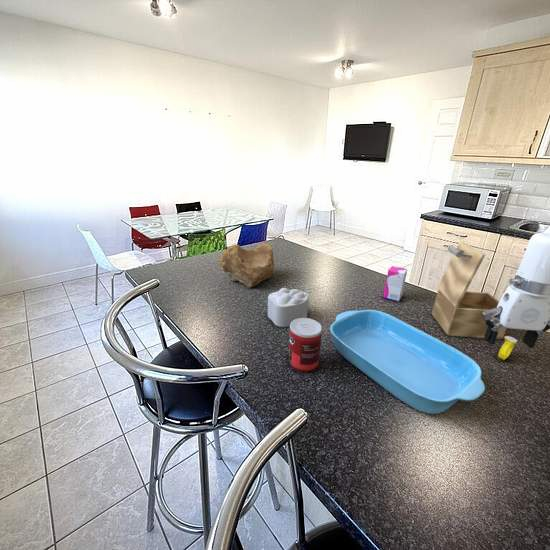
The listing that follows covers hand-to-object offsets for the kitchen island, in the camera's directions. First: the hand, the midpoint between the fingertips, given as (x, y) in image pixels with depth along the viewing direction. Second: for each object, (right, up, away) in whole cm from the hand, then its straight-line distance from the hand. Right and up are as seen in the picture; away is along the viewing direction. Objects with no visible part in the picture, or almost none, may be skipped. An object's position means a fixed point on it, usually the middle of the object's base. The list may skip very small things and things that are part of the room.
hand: (507, 343), depth 77 cm
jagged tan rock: (-71, +15, +43) cm, 85 cm away
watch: (0, -4, +2) cm, 5 cm away
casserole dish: (-31, -6, -3) cm, 32 cm away
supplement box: (-17, +9, +33) cm, 38 cm away
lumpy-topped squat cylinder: (-57, +4, +19) cm, 60 cm away
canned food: (-54, -5, -2) cm, 55 cm away
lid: (-7, +19, +9) cm, 22 cm away
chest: (-1, +2, +16) cm, 16 cm away
